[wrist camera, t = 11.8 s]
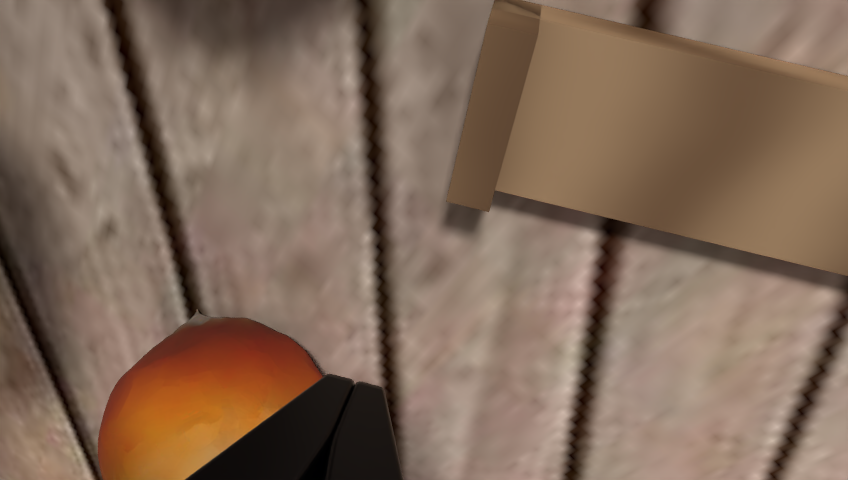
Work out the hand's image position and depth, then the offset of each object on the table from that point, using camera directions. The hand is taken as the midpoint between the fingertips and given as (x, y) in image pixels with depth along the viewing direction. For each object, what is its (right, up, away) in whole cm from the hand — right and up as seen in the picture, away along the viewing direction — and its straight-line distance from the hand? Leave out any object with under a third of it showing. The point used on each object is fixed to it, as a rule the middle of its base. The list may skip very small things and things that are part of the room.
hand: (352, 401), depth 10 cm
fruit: (-6, -3, +18) cm, 19 cm away
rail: (+14, +4, +9) cm, 17 cm away
